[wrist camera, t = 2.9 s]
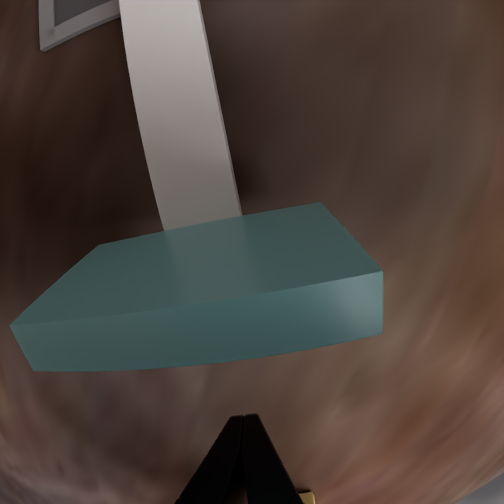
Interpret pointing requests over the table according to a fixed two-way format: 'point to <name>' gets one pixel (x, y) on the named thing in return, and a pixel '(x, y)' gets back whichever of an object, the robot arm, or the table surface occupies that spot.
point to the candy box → (307, 498)
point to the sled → (199, 241)
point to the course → (72, 18)
